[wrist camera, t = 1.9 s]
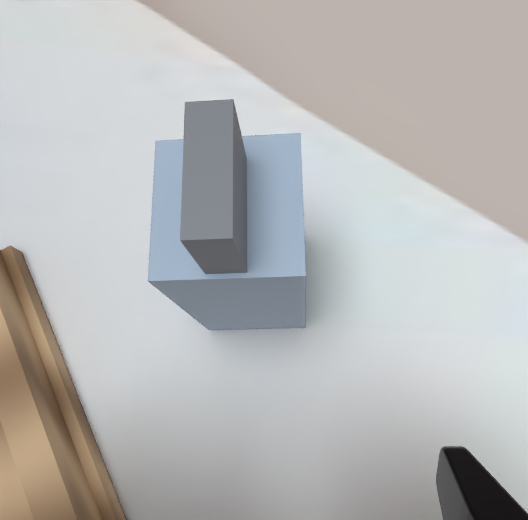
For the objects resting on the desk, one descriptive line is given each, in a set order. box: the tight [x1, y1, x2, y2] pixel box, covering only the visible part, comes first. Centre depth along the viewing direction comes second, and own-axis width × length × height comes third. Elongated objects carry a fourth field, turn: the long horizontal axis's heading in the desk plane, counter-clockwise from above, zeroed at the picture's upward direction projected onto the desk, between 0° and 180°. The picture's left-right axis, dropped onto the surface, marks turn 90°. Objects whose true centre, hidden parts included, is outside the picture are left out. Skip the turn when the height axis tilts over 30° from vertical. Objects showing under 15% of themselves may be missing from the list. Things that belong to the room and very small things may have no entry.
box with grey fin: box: [148, 99, 306, 330], centre depth 18 cm, size 4×4×12 cm
